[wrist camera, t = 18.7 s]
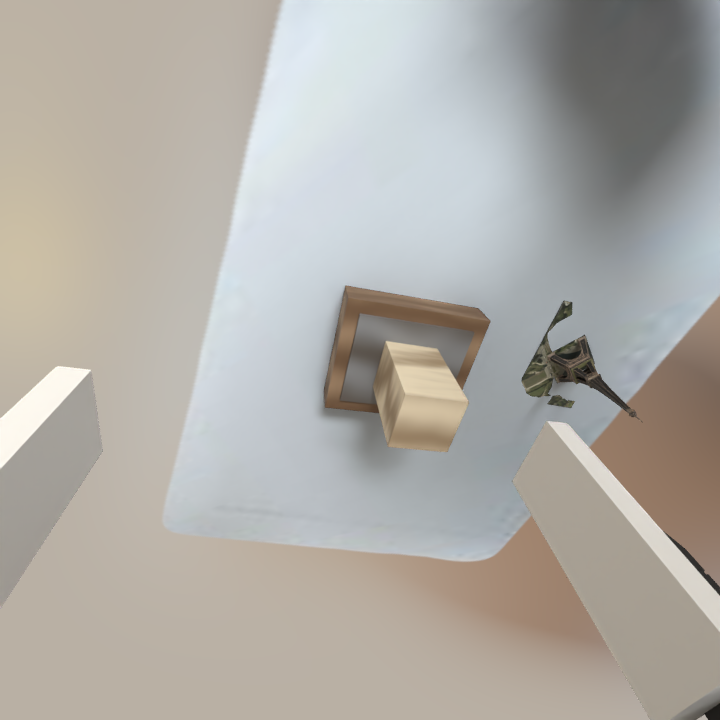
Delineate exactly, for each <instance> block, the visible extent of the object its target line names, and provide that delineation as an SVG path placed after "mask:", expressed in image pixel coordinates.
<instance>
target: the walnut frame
mask: <svg viewBox="0 0 720 720" xmlns="http://www.w3.org/2000/svg"><path fill="white" fill-rule="evenodd" d="M489 324H490V320H489V319H488V318H487V317H486V316H485V315H484V314H483V313H482V312H481V311H480V310H479V309H478V308H473V307H467V306H461V305H456V304H450V303H444V302H438V301H432V300H426V299H421V298H415V297H409V296H403V295H397V294H391V293H386V292H380V291H374V290H368V289H362V288H356V287H351V286H345V291H344V295H343V300H342V305H341V310H340V315H339V320H338V325H337V329H336V334H335V339H334V344H333V349H332V354H331V359H330V363H329V368H328V373H327V378H326V383H325V388H324V399H325V407H326V408H336V409H345V410H355V411H364V412H374V413H379V409H378V405H377V401H376V397H375V393H374V389H373V384H374V380H375V377H376V373H377V370H378V366H379V363H380V359H381V356H382V352H383V349H384V345H385V342H386V341H390V342H396V343H403V344H410V345H416V346H423V347H430V348H437V349H438V351H439V352H440V354H441V356H442V357H443V359H444V361H445V363H446V364H447V366H448V368H449V369H450V371H451V373H452V374H453V376H454V378H455V379H456V381H457V383H458V385H459V386H460V388H461V390H462V389H463V386H464V384H465V382H466V379H467V377H468V374H469V372H470V370H471V367H472V365H473V362H474V360H475V358H476V355H477V353H478V350H479V348H480V345H481V343H482V341H483V338H484V336H485V333H486V331H487V329H488V326H489Z"/></svg>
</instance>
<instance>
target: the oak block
mask: <svg viewBox="0 0 720 720" xmlns="http://www.w3.org/2000/svg"><path fill="white" fill-rule="evenodd" d="M373 389H374V393H375V397H376V401H377V405H378V409H379V413H380V417H381V421H382V425H383V429H384V433H385V437H386V441H387V445H388V447H395V448H406V449H418V450H429V451H440V452H448V449H449V447H450V445H451V443H452V440H453V438H454V436H455V433H456V431H457V429H458V427H459V424H460V422H461V420H462V417H463V415H464V413H465V411H466V408H467V406H468V404H469V401H468V400H467V398H466V396H465V395H464V393H463V391H462V390H461V388H460V386H459V385H458V383H457V381H456V379H455V378H454V376H453V374H452V373H451V371H450V369H449V368H448V366H447V364H446V363H445V361H444V359H443V357H442V356H441V354H440V352H439V351H438V349H437V348H430V347H423V346H416V345H410V344H403V343H396V342H390V341H386V342H385V345H384V349H383V352H382V356H381V359H380V363H379V366H378V370H377V373H376V377H375V380H374V384H373Z"/></svg>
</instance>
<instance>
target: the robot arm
mask: <svg viewBox="0 0 720 720" xmlns="http://www.w3.org/2000/svg"><path fill="white" fill-rule="evenodd" d="M102 452H103V449H102V442H101V435H100V428H99V421H98V413H97V406H96V400H95V393H94V385H93V378H92V372H91V370H87V369H78V368H69V367H60V366H57V367H56V368H54V369H53V371H51V372H50V373H49V374H48V375H47V376H46V377H45V378H44V379H43V380H41V381H40V382H39V383H38V384H37V385H36V386H35V387H34V388H33V389H32V390H31V391H30V392H29V393H27V394H26V395H25V396H24V397H23V398H22V399H21V400H20V401H19V402H18V403H17V404H16V405H15V406H13V407H12V408H11V409H10V410H9V411H8V412H7V413H6V414H5V415H4V416H3V417H2V418H0V609H1V607H2V606H3V604H4V603H5V601H6V599H7V598H8V596H9V595H10V593H11V592H12V590H13V588H14V587H15V586H16V584H17V583H18V581H19V579H20V578H21V576H22V575H23V573H24V572H25V570H26V569H27V567H28V566H29V564H30V563H31V561H32V559H33V558H34V556H35V555H36V553H37V552H38V550H39V549H40V547H41V546H42V544H43V543H44V541H45V539H46V538H47V536H48V535H49V533H50V532H51V530H52V529H53V527H54V526H55V524H56V523H57V521H58V519H59V517H60V516H61V515H62V513H63V512H64V510H65V509H66V507H67V506H68V504H69V502H70V501H71V499H72V498H73V496H74V495H75V493H76V492H77V490H78V488H79V487H80V486H81V484H82V482H83V481H84V479H85V478H86V476H87V475H88V473H89V472H90V470H91V468H92V467H93V465H94V464H95V462H96V461H97V459H98V458H99V456H100V455H101V453H102ZM512 482H513V484H514V485H515V487H516V489H517V491H518V492H519V494H520V496H521V498H522V499H523V501H524V503H525V504H526V506H527V508H528V510H529V511H530V513H531V515H532V517H533V518H534V520H535V522H536V523H537V525H538V527H539V529H540V530H541V532H542V534H543V536H544V537H545V539H546V541H547V542H548V544H549V546H550V547H551V549H552V551H553V553H554V554H555V556H556V558H557V560H558V561H559V563H560V565H561V567H562V568H563V570H564V572H565V574H566V575H567V577H568V579H569V580H570V582H571V584H572V585H573V587H574V589H575V591H576V593H577V594H578V596H579V598H580V599H581V601H582V603H583V605H584V606H585V608H586V610H587V611H588V613H589V615H590V617H591V618H592V620H593V622H594V624H595V625H596V627H597V629H598V631H599V632H600V634H601V636H602V637H603V639H604V641H605V643H606V644H607V646H608V648H609V649H610V651H611V653H612V655H613V656H614V658H615V660H616V662H617V663H618V665H619V667H620V668H621V670H622V672H623V674H624V675H625V677H626V679H627V681H628V682H629V684H630V685H631V687H632V689H633V691H634V693H635V694H636V696H637V698H638V700H639V701H640V703H641V705H642V706H643V708H644V710H645V712H646V713H647V715H648V717H649V719H650V720H696V719H698V718H699V717H701V716H703V715H704V714H705V715H706V717H707V718H708V720H720V587H719V586H718V585H717V583H715V581H714V580H713V579H712V578H711V577H710V576H709V575H708V574H707V575H706V574H705V573H704V569H703V568H702V567H701V566H700V565H699V564H698V562H697V561H696V560H695V559H694V558H693V557H692V556H691V555H690V554H689V552H688V551H687V550H686V549H685V548H683V547H682V546H681V545H680V544H679V543H677V542H676V541H675V540H674V539H672V538H671V537H670V536H669V535H668V534H666V533H665V532H664V531H662V530H661V529H660V528H659V526H658V525H657V524H656V523H655V522H654V521H653V520H652V519H651V517H650V516H649V515H648V514H647V513H646V512H645V511H644V509H643V508H642V507H641V506H640V505H639V504H638V503H637V502H636V501H635V499H634V498H633V497H632V496H631V495H630V494H629V492H627V490H626V489H625V488H624V487H623V486H622V485H621V484H620V483H619V481H618V480H617V479H616V478H615V477H614V476H613V474H612V473H611V472H610V471H609V470H608V469H607V468H606V466H605V465H604V464H603V463H602V462H601V461H600V460H599V459H598V458H597V456H596V455H595V454H594V453H593V452H592V451H591V449H590V448H589V447H588V446H587V445H586V444H585V443H584V442H583V440H582V439H581V438H580V437H579V436H578V435H577V434H576V433H575V431H574V430H573V429H572V428H571V427H570V426H569V425H568V423H562V422H553V421H546V423H545V424H544V426H543V428H542V430H541V432H540V433H539V435H538V437H537V439H536V440H535V442H534V444H533V446H532V447H531V449H530V451H529V453H528V454H527V456H526V458H525V460H524V461H523V463H522V465H521V467H520V468H519V470H518V472H517V474H516V475H515V477H514V479H513V481H512Z"/></svg>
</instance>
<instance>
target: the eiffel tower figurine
mask: <svg viewBox="0 0 720 720" xmlns="http://www.w3.org/2000/svg"><path fill="white" fill-rule="evenodd" d="M570 315H572V302H568V301H563V303H562V305H561V307H560V309H559V311H558V313H557V315H556V316H555V318H554V320H553V322H552V323H551V325H550V327H549V329H548V331H547V332H546V334H545V336H544V338H543V340H542V342H541V344H540V346H539V348H538V350H537V352H536V354H535V356H534V358H533V359H532V361H531V363H530V365H529V367H528V368H527V370H526V372H525V374H524V376H523V377H522V384H523V386H524V388H525V390H526V393H527V394H529V395H530V396H532V397H536V396H537V397H538V398H539V397H542V396H551V395H549V394H548V393H549V391H550V389H551V387H552V382H553V377H555V379H556V382H557V383H560V382H575V383H576V384H578V383H583V384H585V385H588V386H590V388H594V389H596V390H598V391H599V392H601V393H602V394H604V395H605V396H607V397H608V398H609V399H611V400H612V401H613V402H615V403H616V404H617V405H619V406H620V407H621V408H623V409H624V410H625V411H627V412H628V413H629V416H631V417H637V416H636V412H635V411H634V410H632V409H631V408H630V407H628V406H627V405H626V404H625V403H624V402H623V401H622V400H621V399H620V398H619V397H618V396H617V395H616V394H615V393H614V392H613V391H612V390H611V389H610V388H609V387H608V385H607V384H606V383H605V382H604V381H603V380H602V378H601V375H600V374H598V373H597V371H596V369H595V366H594V364H595V363H594V360H593V357H592V354H591V351H590V348H589V345H588V342H587V339H586V336H585V335H584V336H582V337H580V338H578V339H576V340H574V341H572V342H571V343H569V344H567V345H565V346H563V347H561V348H559V349H558V350H556V351H554V352H552V351H551V349H550V346H549V343H548V339H547V335H548V332H549V331H550V330H551V329H552V328H553V327H554V326H555V324H556V323H558V322H559V321H561V320H563V319H565V318H567V317H568V316H570ZM584 369H585V370H584ZM582 370H584V371H582ZM574 402H575V401H570V400H568V401H567V400H565V399H562V397H561V396H560V395H556V396H553V397H552V398H551V400H550V401H549V402H548V404H550V405H556V406H563V407H569V408H571V407H572V405H573V404H574ZM638 419H639V418H638ZM639 420H640V419H639ZM640 421H641V420H640ZM641 422H642V421H641Z"/></svg>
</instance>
